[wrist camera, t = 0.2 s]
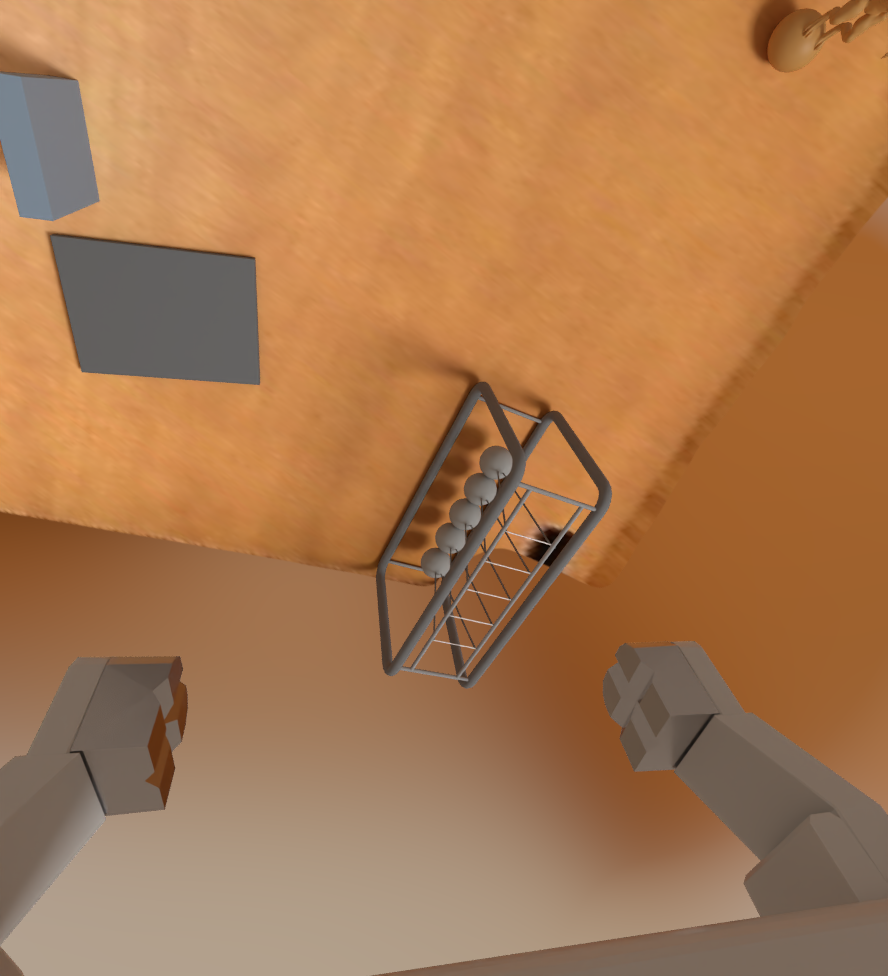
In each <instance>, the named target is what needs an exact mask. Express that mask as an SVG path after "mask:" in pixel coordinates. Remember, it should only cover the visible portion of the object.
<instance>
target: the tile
mask: <svg viewBox="0 0 888 976" xmlns="http://www.w3.org/2000/svg"><path fill="white" fill-rule="evenodd" d="M0 141H1V145H2V149H3V153H4V156H5V160H6V164H7V168H8V172H9V176H10V180H11V184H12V188H13V192H14V196H15V199H16V203H17V207H18V211H19V215H20V217H25V218H33V219H42V220H50V221H54V220H57V219H59V218H61V217H64V216H66V215H68V214H71V213H73V212H75V211H78V210H80V209H82V208H85V207H87V206H89V205H92V204H94V203H96V202H99V201H100V200H99V194H98V189H97V183H96V178H95V172H94V167H93V161H92V155H91V150H90V144H89V139H88V133H87V128H86V122H85V116H84V111H83V105H82V100H81V94H80V88H79V83H78V80H72V79H66V78H60V77H55V76H49V75H37V74H24V73H11V72H0Z"/></svg>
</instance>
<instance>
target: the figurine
mask: <svg viewBox="0 0 888 976" xmlns="http://www.w3.org/2000/svg"><path fill="white" fill-rule="evenodd" d="M863 9H865V10H864V12H865V13H866V14H865V15H863V16H862V17H860V18H859V19H857V20H856V22H855V23H854V25H853V27H852V24H851V23H850V22H847V23H842V22H844V21H848V20H852V19H854V18H855V17H857V16H858V15H859V14H860V13H861V12H862V10H863ZM887 12H888V0H851V1H849V2H848V3H846V4H845V5H844V6H843V7H842V8H840V7H835V8H833V9H832V10H830V11H828V12H827V13H825V14H824V15H821V14H820V13H819V12H817V11H816V10H813V9H800V10H797V11H794V12H792V13H791V14H789V15H787V16H786V17H785V18H784V19H783V20H782V21H781V22H780V23H779V24H778V25H777V26H776V28H775V29H774V31H773V33H772V35H771V37H770V39H769V43H768V48H767V54H768V59H769V62H770V64H771V65H772V66H773V67H774V68H775V69H776V70H778V71H780V72H794V71H797V70H799V69H801V68H803V67H805V66H806V65H807V64H809V63H810V62H811V61H812V60H813V59H814V58H815V57H816V55H817V54H818V53H819V51H820V49H821V47H822V45H823V44H824V43H825V41H827V40H828V39H829V38H831V37H832V36H834V35H835V34H837V33H838V32H840V31H841V36H842V41H843V42H845V43H850V42H852V41H853V40H854V39H855V38H856V37H858V36H859V35H861V34H862V33H864V32H865V31H866V30H868V29H869V28H870V27H872V26H874V25H877V24H878V23H880V22H883V21H884V20H886V18H887V16H888V13H887ZM829 18H830V21H829V22H830V24H831V25H838V24H839V25H838V26H836V27H834V28H833V29H831V30H829V31H828V32H826V24H825V21H827V20H828V19H829ZM840 23H841V24H840ZM887 56H888V53H886V54H885V56H883V57H882V58H885V57H887ZM882 58H881V59H882Z"/></svg>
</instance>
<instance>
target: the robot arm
mask: <svg viewBox="0 0 888 976" xmlns="http://www.w3.org/2000/svg"><path fill="white" fill-rule="evenodd" d="M615 656H616V658H617V660H618V663H616V664H615V665H614V666H612V667H611V668H609V669H608V671H607V673H606V675H605V678H604V680H603V696H604V701H605V705H606V708H607V710H608V712H609V715H610V717H611V718H612V719H613V720H614V721H615V722H617V723H618V724H619V725H620V726H622V731H621V735H620V740H621V742H622V745H623V747H624V749H625V751H626V754H627V756H628V758H629V760H630V763H631V765H632V767H633V770H634V771H653V770H672V769H675V771H674V772H675V774H676V775H677V776H678V777H679V778H680V779H681V780H682V781H683V782H684V783H685V784H686V785H687V786H688V787H689V788H690V789H691V790H692V791H693V792H694V793H695V794H696V795H697V796H698V797H699V798H700V799H701V800H702V801H703V802H704V803H705V804H706V805H707V806H708V807H709V808H710V809H711V810H712V811H713V812H714V813H715V814H716V815H717V816H718V817H719V818H720V819H721V820H722V822H723V823H724V824H725V825H727V826H728V828H729V829H731V831H732V832H733V833H734V834H735V835H736V836H737V837H738V838H739V839H740V840H741V841H742V842H743V843H744V844H745V845H746V846H747V847H748V848H749V849H750V850H751V851H752V852H753V853H754V854H755V855H756V856H757V857H758V858H759V859H760V860H761V861H760V862H759V863H758V864H757V865H756V866H755V867H754V868H753V869H752V870H751V871H750V872H749V873H748V874H747V875H746V877H745V880H744V885H745V887H746V889H747V891H748V893H749V895H750V897H751V899H752V901H753V903H754V905H755V907H756V909H757V911H758V913H759V915H760V917H757V918H751V919H744V920H737V921H730V922H724V923H717V924H711V925H704V926H697V927H691V928H685V929H677V930H671V931H665V932H658V933H651V934H644V935H638V936H631V937H624V938H618V939H611V940H604V941H598V942H591V943H585V944H578V945H572V946H565V947H558V948H552V949H545V950H539V951H532V952H525V953H518V954H512V955H506V956H498V957H492V958H485V959H479V960H472V961H465V962H459V963H452V964H445V965H439V966H432V967H426V968H420V969H412V970H406V971H399V972H392V973H386V974H379V975H373V976H888V815H887V814H886V812H885V811H884V810H883V808H882V807H881V806H880V805H879V804H878V803H876V802H875V801H874V800H872V799H871V798H869V797H868V796H867V795H865V794H864V793H863V792H861V791H860V790H858V789H857V788H856V787H854V786H853V785H851V784H850V783H848V782H847V781H846V780H844V779H843V778H842V777H840V776H839V775H837V774H836V773H835V772H833V771H832V770H831V769H829V768H828V767H826V766H825V765H824V764H822V763H821V762H820V761H818V760H817V759H815V758H814V757H813V756H811V755H810V754H808V753H807V752H806V751H804V750H803V749H802V748H800V747H799V746H797V745H796V744H795V743H793V742H792V741H790V740H789V739H788V738H786V737H785V736H783V735H782V734H780V733H779V732H778V731H777V730H775V729H774V728H772V727H771V726H770V725H768V724H767V723H766V722H764V721H763V720H761V719H760V718H759V717H757V716H756V715H754V714H753V713H745V712H744V710H743V709H742V707H741V706H740V704H739V703H738V701H737V700H736V698H735V697H734V695H733V694H732V692H731V691H730V689H729V688H728V686H727V684H726V683H725V681H724V680H723V679H722V677H721V675H720V674H719V673H718V671H717V669H716V668H715V666H714V665H713V663H712V662H711V660H710V659H709V657H708V656H707V654H706V653H705V652H704V650H703V648H702V647H701V646H700V645H699V644H697V643H696V642H695V641H683V642H668V641H667V642H666V641H664V642H641V643H625V644H623V645H622V646H620V647H619V649H618V651H617V653H616V654H615ZM182 671H183V667H182V663H181V658H180V656H176V657H175V656H173V657H172V656H171V657H170V656H164V657H161V656H157V657H156V656H154V657H78V658H77V659H76V660H75V661H74V662H73V663H72V664H71V665H70V666H69V668H68V670H67V672H66V674H65V676H64V678H63V680H62V683H61V685H60V687H59V689H58V691H57V693H56V695H55V697H54V699H53V701H52V704H51V705H50V708H49V710H48V712H47V714H46V716H45V718H44V720H43V722H42V724H41V726H40V728H39V730H38V733H37V734H36V737H35V739H34V741H33V743H32V745H31V747H30V749H29V751H28V753H27V755H25V756H15V757H14V758H13V759H12V760H10V761H9V762H8V763H7V764H5V765H4V766H3V767H2V768H1V769H0V945H1V944H2V943H3V942H4V940H5V939H6V938H7V937H8V936H9V935H10V933H11V932H12V931H13V930H14V929H15V927H16V926H17V925H18V924H19V923H20V922H21V920H22V919H23V918H24V917H25V916H26V914H27V913H28V912H29V911H30V910H31V908H32V907H33V906H34V905H35V904H36V902H37V901H38V900H39V899H40V898H41V896H42V895H43V894H44V893H45V891H46V890H47V889H48V888H49V887H50V886H51V885H52V883H53V882H54V881H55V880H56V879H57V877H58V876H59V875H60V874H61V872H62V871H63V870H64V869H65V868H66V867H67V865H68V864H69V863H70V862H71V860H73V858H74V857H75V856H76V855H77V854H78V852H79V851H80V850H81V849H82V848H83V846H84V845H85V844H86V843H87V841H88V840H89V839H90V838H91V837H92V836H93V834H94V833H95V832H96V831H97V830H98V829H99V827H100V826H101V825H102V824H103V822H104V821H105V820H106V817H105V816H108V815H118V814H128V813H136V812H146V811H156V810H165V807H166V802H167V798H168V795H169V791H170V787H171V782H172V779H173V775H174V771H175V765H174V760H173V756H172V751H173V750H174V749H175V748H176V747H177V746H178V745H179V744H180V743H181V742H182V738H183V734H184V730H185V725H186V717H187V709H188V697H187V696H188V694H187V688H186V685H185V684H183V683H181V682H180V678H181V674H182ZM0 976H24V975H23V973H22V971H21V970H20V969H19V967H18V966H17V965H16V964H15V963H14V962H13V961H12V959H11V958H10V957H9V956H8V955H7V954H6V952H5V951H4V950H3V949H2V948H1V947H0Z"/></svg>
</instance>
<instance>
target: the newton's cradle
mask: <svg viewBox="0 0 888 976" xmlns="http://www.w3.org/2000/svg"><path fill="white" fill-rule="evenodd" d="M481 394H482V396H483V397H481V396H480V395H481ZM478 399H479V400H481V401H484V402H486V404H487V406H488V408H489V410H490V412H491V414H492V416H493V419H494V421H495V423H496V425H497V427H498V429H499V431H500V433H501V435H502V437H503V439H504V441H505V444H506V446H507V448H508V450H509V451H508V450H507V449H505V448H504V447H501V446H492V447H489V448H487V449H486V450H485V451H484V452H483V453H482V455H481V457H480V468H481V470H482V472H483V473H476V474H473V475H471V476H470V477H469V478H468V479H467V481H466V482H465V485H464V493H465V496H466V498H464V499H459V500H457V501H456V502H455V503H453V505H452V506H451V508H450V512H449V517H450V520H451V522H452V523H446V524H443V525H442V526H441V527H439V529H438V530H437V532H436V536H435V539H436V544H437V546H438V547H439V548H431V549H429V550H427V551H426V552H425V553H424V554H423V556H422V559H421V567H422V568H420V567H416V566H412V565H408V564H404V563H400V562H396V561H392V560H390V559H391V557H392V555H393V554H394V552H395V550H396V548H397V546H398V545H399V543H400V541H401V539H402V537H403V535H404V534H405V532H406V530H407V528H408V526H409V524H410V523H411V521H412V519H413V517H414V515H415V513H416V512H417V510H418V508H419V506H420V504H421V502H422V501H423V499H424V497H425V495H426V493H427V491H428V490H429V488H430V486H431V484H432V482H433V481H434V479H435V477H436V475H437V473H438V471H439V470H440V468H441V466H442V464H443V462H444V460H445V459H446V457H447V455H448V453H449V451H450V449H451V448H452V446H453V444H454V442H455V440H456V438H457V437H458V435H459V433H460V431H461V429H462V427H463V426H464V424H465V422H466V420H467V418H468V417H469V415H470V413H471V411H472V409H473V407H474V406H475V404H476V402H477V400H478ZM502 409H504V410H507V411H509V412H512V413H515V414H517V415H520V416H522V417H525V418H527V419H530V420H533V421H535V422H538V425H537V427H536V428H535V430H534V432H533V433H532V435H531V436H530V438H529V440H528V441H527V443H526V444H525V446H524V448H523V449H522V447H521V445H520V443H519V441H518V439H517V437H516V435H515V433H514V431H513V429H512V428H511V426H510V424H509V422H508V420H507V418H506V416H505V414H504V412H503V410H502ZM552 421H554V422H555V424H556V425H557V427H558V428H559V430H560V432H561V433H562V435H563V436H564V438H565V439H566V441H567V442H568V444H569V445H570V447H571V448H572V450H573V451H574V453H575V454H576V456H577V457H578V459H579V460H580V462H581V463H582V465H583V466H584V468H585V469H586V471H587V472H588V474H589V475H590V477H591V478H592V480H593V481H594V483H595V484H596V486H597V487H598V490H599V498H598V501H597V504H596V505H595V507H593V506H590V505H587V504H584V503H581V502H578V501H575V500H572V499H569V498H566V497H563V496H560V495H557V494H554V493H551V492H548V491H546V490H543V489H540V488H537V487H534V486H531V485H528V484H525V483H522V482H521V480H522V477H523V474H524V471H525V466H526V461H527V459H528V457H529V456H530V454H531V453H532V451H533V450H534V448H535V446H536V445H537V443H538V442H539V440H540V438H541V437H542V435H543V434H544V432H545V431H546V429H547V427H548V426H549V425H550V423H551V422H552ZM504 477H505V478H504ZM502 478H504V480H503V481H502V483H501V484H500V479H502ZM493 479H498V483H499V488H498V489H497V487H496V483H495V481H494V480H493ZM518 486H519V487H522V488H525V489H527V491H526V492H525V494H524V495H523V497H522V498H520V497H519V495H518V493H517V492H516V489H517V487H518ZM531 491H534V492H537V493H540V494H543V495H546V496H549V497H552V498H555V499H558V500H561V501H564V502H567V503H570V504H573V505H576V506H579V508H578V509H577V510H576V512H575V513H574V515H573V516H572V517H571V519H570V520H569V521H568V523H567V524H566V526H565V527H564V528H563V530H562V531H561V532H560V534H559V535H558V537H557V538H556V539H555V541H554V542H553V543H552V544H551V543H550V542H549V540H548V539H547V537H546V536H545V534H544V533H543V531H542V530H541V528H540V527H539V525H538V524H537V522H536V521H535V519H534V518H533V516H532V515H531V513H530V512H529V510H528V509H527V507H526V506H525V504H524V502H525V500H526V499H527V497H528V496H529V494H530V493H531ZM514 492H515V493H516V495H517V496H518V498H519V499H520V501H519V503H518V504H517V506H516V507H515V509H514V510H513V512H512V513H511V515H510V516H509V518H508V520H507V521H505V514H504V507H505V506H506V504H507V503H508V501H509V499H510V498H511V496H512V495H513V493H514ZM611 497H612V491H611V486H610V484H609V481H608V480H607V479H606V477H605V476H604V474H603V473H602V471H601V470H600V469H599V467H598V466H597V464H596V463H595V461H594V460H593V459H592V457H591V456H590V454H589V453H588V451H587V450H586V449H585V447H584V446H583V444H582V443H581V441H580V440H579V439H578V437H577V436H576V434H575V433H574V431H573V430H572V429H571V427H570V426H569V424H568V423H567V421H566V420H565V419H564V417H563V416H562V414H561V413H559V412H558V411H551V412H548V413H547V414H546V415H544V416H543V418H542V419H541V420H540V419H537V418H534V417H532V416H529V415H527V414H524V413H522V412H519V411H517V410H514V409H512V408H509V407H506V406H504V405H501V404H499V403H498V401H497V399H496V397H495V395H494V393H493V391H492V389H491V387H490V385H489V384H488V383H486V382H479V383H478V384H476V385H475V386H474V387H473V389H472V390H471V392H470V393H469V395H468V397H467V399H466V401H465V403H464V404H463V406H462V408H461V410H460V412H459V414H458V416H457V418H456V419H455V421H454V423H453V425H452V427H451V429H450V431H449V432H448V434H447V436H446V438H445V440H444V442H443V444H442V446H441V447H440V449H439V451H438V453H437V455H436V457H435V459H434V461H433V462H432V464H431V466H430V468H429V470H428V472H427V474H426V475H425V477H424V479H423V481H422V483H421V485H420V487H419V489H418V490H417V492H416V494H415V496H414V498H413V500H412V502H411V503H410V505H409V507H408V509H407V511H406V513H405V515H404V517H403V518H402V520H401V522H400V524H399V526H398V528H397V530H396V532H395V533H394V535H393V537H392V539H391V541H390V543H389V545H388V546H387V548H386V550H385V552H384V554H383V556H382V558H381V560H380V562H379V565H378V568H377V574H376V583H377V597H378V610H379V623H380V637H381V651H382V664H383V669H384V671H385V673H386V674H387V675H389V676H393V675H395V674H397V673H398V672H399V670H404V671H410V672H415V673H422V674H427V675H433V676H439V677H445V678H451V679H457V680H458V682H459V683H460V685H461V686H462V687H464V688H471V687H473V686H474V685H475V684H476V683H477V681H478V680H479V679H480V677H481V676H482V675H483V673H484V672H485V671H486V670H487V668H488V667H489V666H490V664H491V663H492V662H493V660H494V659H495V658H496V656H497V655H498V654H499V653H500V651H501V650H502V648H503V647H504V646H505V644H506V643H507V642H508V641H509V639H510V638H511V637H512V635H513V634H514V633H515V631H516V630H517V629H518V627H519V626H520V625H521V624H522V622H523V621H524V620H525V618H526V617H527V616H528V614H529V613H530V612H531V610H532V609H533V608H534V607H535V605H536V604H537V603H538V601H539V600H540V599H541V597H542V596H543V595H544V593H545V592H546V591H547V590H548V588H549V587H550V586H551V584H552V583H553V582H554V580H555V579H556V578H557V576H558V575H559V574H560V573H561V571H562V570H563V569H564V567H565V566H566V565H567V563H568V562H569V561H570V559H571V558H572V557H573V556H574V554H575V553H576V552H577V550H578V549H579V548H580V546H581V545H582V544H583V542H584V541H585V540H586V538H587V537H588V536H589V535H590V533H591V532H592V531H593V529H594V528H595V527H596V525H597V524H598V523H599V521H600V520H601V519H602V518H603V516H604V515H605V513H606V512H607V510H608V508H609V505H610V503H611ZM486 504H488V505H487V507H486V509H485V510H484V512H483V506H482V505H486ZM478 505H480V506H481V510H480V508H479V506H478ZM522 505H524V507H525V508H526V510H527V511H528V513H529V514H530V516H531V517H532V519H533V521H534V522H535V524H536V525H537V527H538V528H539V530H540V531H541V533H542V534H543V536H544V537H545V539H546V540H547V542H548V543H545V542H542V541H538V540H535V539H532V538H528V537H525V536H522V535H518V534H515V533H511V532H508V531H507V528H508V526H509V525H510V523H511V522H512V520H513V518H514V517H515V515H516V514H517V512H518V511H519V509H520V508H521V506H522ZM583 508H585V509H588V510H591V512H590V514H589V515H588V516H587V518H586V519H585V520H584V522H583V523H582V525H581V526H580V527H579V529H578V530H577V531H576V533H575V534H574V535H573V537H572V538H571V539H570V541H569V542H568V543H567V545H566V546H565V547H564V549H563V550H562V551H561V553H560V554H559V555H558V557H557V558H556V559H555V561H554V562H553V563H552V565H551V566H550V567H549V569H548V570H547V571H546V573H545V574H544V576H543V577H542V578H541V580H540V581H539V582H538V584H537V585H536V586H535V588H534V589H533V590H532V592H531V593H530V594H529V596H528V597H527V598H526V600H525V601H524V602H523V604H522V605H521V606H520V608H519V609H518V610H517V612H516V613H515V614H514V616H513V617H512V618H511V620H510V621H509V623H508V624H507V625H506V627H505V628H504V629H503V631H502V632H501V633H500V635H499V636H498V637H497V639H496V640H495V641H494V643H493V644H492V645H491V647H490V648H489V650H488V651H487V652H486V654H485V655H484V656H483V657H482V659H481V660H480V661H479V663H478V664H477V665H476V667H475V668H474V669H473V671H472V672H471V674H470V675H469V676H468V677H467V675H466V670H465V669H466V668H467V666H468V665H469V664H470V662H471V661H472V660H473V658H474V657H475V655H476V654H477V653H478V651H479V650H480V649H481V647H482V646H483V645H484V643H485V642H486V641H487V639H488V638H489V636H490V635H491V634H492V632H493V631H494V630H495V628H496V627H497V625H498V624H499V623H500V621H501V620H502V619H503V617H504V616H505V615H506V613H507V612H508V611H509V609H510V608H511V607H512V605H513V604H514V602H515V601H516V600H517V598H518V597H519V596H520V594H521V593H522V591H523V590H524V589H525V587H526V586H527V585H528V583H529V582H530V581H531V579H532V578H533V577H534V575H535V574H536V572H537V571H538V570H539V568H540V567H541V566H542V564H543V563H544V562H545V560H546V559H547V557H548V556H549V555H550V553H551V552H552V551H553V549H554V548H555V547H556V545H557V544H558V542H559V541H560V540H561V538H562V537H563V536H564V534H565V533H566V532H567V530H568V529H569V527H570V526H571V525H572V523H573V522H574V521H575V519H576V518H577V517H578V515H579V514H580V512H581V511H582V510H583ZM481 512H482V515H481ZM501 512H503V519H504V526H502V524H501V522H500V520H499V519H498V517H499V515H500V513H501ZM496 520H498V522H499V523H500V525H501V527H502V529H501V530H500V532H499V533H498V535H497V536H496V538H495V539H494V541H493V542H492V544H491V545H490V547H489V548H488V550H487V552H486V543H485V537H486V535H487V534H488V532H489V531H490V529H491V527H492V526H493V524H494V523H495V521H496ZM470 529H472V531H471V533H470V534H469V536H468V537H467V532H466V530H470ZM464 530H465V531H464ZM504 532H505V534H506V535H507V537H508V539H509V540H510V542H511V544H512V545H513V547H514V549H515V551H516V552H517V554H518V555H519V557H520V559H521V560H522V562H523V564H524V566H525V567H526V569H527V571H528V572H525V571H522V572H525V573H529V574H530V575H529V576H528V578H527V579H526V581H525V582H524V583H523V585H522V586H521V587H520V589H519V590H518V592H517V593H516V594H515V596H514V597H513V598H512V599H511V598H510V597H509V595H508V593H507V591H506V589H505V588H504V585H503V584H502V582H501V580H500V578H499V576H498V574H497V572H496V570H495V568H494V567H493V565H492V564H495V563H492V562H491V561H490V559H489V557H488V556H489V555H490V553H491V552H492V550H493V549H494V547H495V546H496V544H497V543H498V541H499V540H500V538H501V537H502V535H503V534H504ZM507 532H508V533H511V534H514V535H518V536H521V537H525V538H528V539H532V540H535V541H538V542H542V543H545V544H549V545H551V546H550V548H549V549H548V550H547V552H546V553H545V554H544V556H543V557H542V559H541V560H540V561H539V563H538V564H537V565H536V567H535V568H534V570H533V571H532V572H530V571H529V569H528V568H527V566H526V565H525V563H524V561H523V559H522V558H521V556H520V554H519V553H518V551H517V549H516V548H515V546H514V544H513V542H512V541H511V539H510V537H509V536H508V534H507ZM483 540H484V548H483V546H482V544H481V543H482V541H483ZM480 545H481V547H482V549H483V551H484V553H485V555H484V556H483V558H482V559H481V561H480V562H479V564H478V565H477V567H476V568H475V570H474V572H473V573H472V574H471V576H469V574H468V563H469V562H470V560H471V558H472V557H473V555H474V554H475V552H476V551H477V549H478V548H479V546H480ZM458 551H459V552H458ZM456 552H457V555H456V557H455V558H454V560H453V562H452V563H451V554H452V553H456ZM448 553H450V557H449V555H448ZM487 558H488V560H489V562H488V561H487ZM484 562H488V563H490V564H491V566H492V568H493V570H494V572H495V573H496V575H497V577H498V579H499V581H500V583H501V585H502V587H503V589H504V590H505V592H506V594H507V596H508V598H509V599H508V600H511V601H510V603H509V604H508V605H507V607H506V608H505V609H504V611H503V612H502V614H501V615H500V616H499V618H498V619H497V620H496V622H495V623H494V624H492V622H491V620H490V618H489V616H488V613H487V611H486V609H485V607H484V605H483V603H482V601H481V599H480V597H479V595H478V593H482V592H478V591H477V590H476V589H475V587H474V584H473V582H472V580H473V579H474V577H475V576H476V574H477V572H478V571H479V570H480V568H481V567H482V565H483V564H484ZM388 563H391V564H395V565H399V566H403V567H407V568H411V569H416V570H420V571H424V573H425V574H426V575H428V576H429V577H432V578H435V594H434V596H433V598H432V599H431V601H430V602H429V604H428V606H427V607H426V609H425V611H424V612H423V614H422V615H421V617H420V618H419V620H418V622H417V623H416V625H415V627H414V628H413V630H412V631H411V633H410V634H409V636H408V638H407V639H406V641H405V642H404V644H403V646H402V647H401V649H400V651H399V652H398V654H397V655H396V657H395V658H394V660H393V661H392V650H391V640H390V629H389V618H388V607H387V597H386V586H385V572H386V568H387V565H388ZM495 565H499V564H495ZM499 566H503V565H499ZM503 567H506V566H503ZM507 568H510V567H507ZM464 569H465V570H466V575H467V576H466V577H467V582H466V584H465V585H464V587H463V588H462V590H461V591H460V593H459V594H458V596H457V597H456V599H455V600H453V598H452V595H451V589H452V588H453V586H454V585H455V583H456V582H457V580H458V578H459V577H460V575H461V574H462V572H463V571H464ZM510 569H514V568H510ZM515 570H518V569H515ZM518 571H521V570H518ZM440 577H442V582H441V585H440V587H439V588H438V590H437V591H436V578H440ZM468 577H469V579H468ZM470 583H472V585H473V587H474V589H475V591H474V590H470V591H474V592H476V594H477V596H478V598H479V600H480V602H481V604H482V606H483V608H484V610H485V613H486V615H487V617H488V619H489V621H490V623H491V624H488V623H484V624H488V625H493V626H492V627H491V629H490V630H489V631H488V633H487V634H486V635H485V637H484V638H483V640H482V641H481V642H480V644H479V645H478V646H477V648H476V647H475V645H474V643H473V641H472V639H471V637H470V635H469V632H468V630H467V628H466V626H465V624H464V622H463V619H465V618H461V615H460V613H459V611H458V608H457V606H456V605H457V603H458V602H459V600H460V598H461V597H462V596H463V594H464V593H465V591H466V590H469V589H468V586H469V585H470ZM477 592H478V593H477ZM449 594H450V598H449ZM482 594H485V593H482ZM486 595H490V594H486ZM490 596H494V595H490ZM494 597H498V596H494ZM499 598H503V597H499ZM451 599H452V601H453V603H452V605H451ZM503 599H507V598H503ZM441 605H443V610H444V615H445V616H444V617H443V619H442V620H441V622H440V624H439V625H438V626H437V628H436V629H435V614H436V613H437V611H438V610H439V608H440V607H441ZM455 607H456V609H457V612H458V614H459V616H460V617H456V616H453V612H452V611H453V609H454V608H455ZM454 617H456V618H461V620H462V623H463V625H464V627H465V629H466V631H467V633H468V636H469V638H470V640H471V642H472V644H473V647H474V648H473V647H469V648H473V649H475V651H474V652H473V653H472V655H471V656H470V657H469V659H468V660H467V662H466V663H465V664H464V662H463V657H462V652H461V648H460V646H462V645H460V643H459V639H458V634H457V629H456V625H455V620H454ZM433 618H434V632H433V634H432V635H431V637H430V638H429V640H428V641H427V643H426V644H425V646H424V648H423V649H422V651H421V652H420V654H419V655H418V657H417V658H416V660H415V661H414V663H413V664H412V666H411V667H410V668H409V667H403V664H404V663H405V661H406V659H407V658H408V656H409V655H410V653H411V652H412V650H413V648H414V647H415V645H416V644H417V642H418V641H419V639H420V638H421V636H422V635H423V633H424V631H425V630H426V628H427V627H428V625H429V624H430V622H431V621H432V619H433ZM466 620H470V619H466ZM445 621H446V625H447V630H448V635H449V640H450V643H448V644H450V645H451V649H452V654H453V659H454V664H455V669H456V674H457V675H456V676H455V675H449V674H444V673H438V672H431V671H426V670H420V669H415V667H416V665H417V663H418V662H419V660H420V659H421V657H422V656H423V654H424V653H425V651H426V650H427V648H428V647H429V645H430V644H431V642H432V641H437V640H435V636H436V635H437V633H438V632H439V630H440V629H441V627H442V626H443V624H444V623H445ZM471 621H474V620H471ZM474 622H478V621H474ZM479 623H483V622H479ZM438 642H442V641H438ZM443 643H447V642H443ZM464 647H468V646H464Z"/></svg>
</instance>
